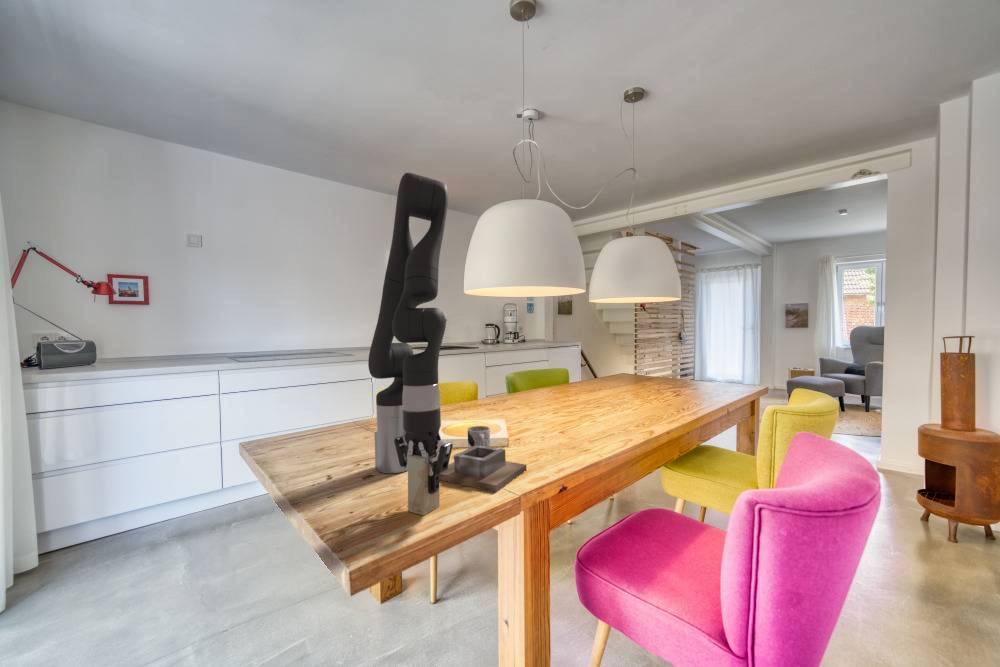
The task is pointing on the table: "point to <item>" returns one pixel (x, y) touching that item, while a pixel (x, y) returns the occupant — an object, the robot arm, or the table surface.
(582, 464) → the table surface
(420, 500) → the box
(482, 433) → the mug
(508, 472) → the socket
